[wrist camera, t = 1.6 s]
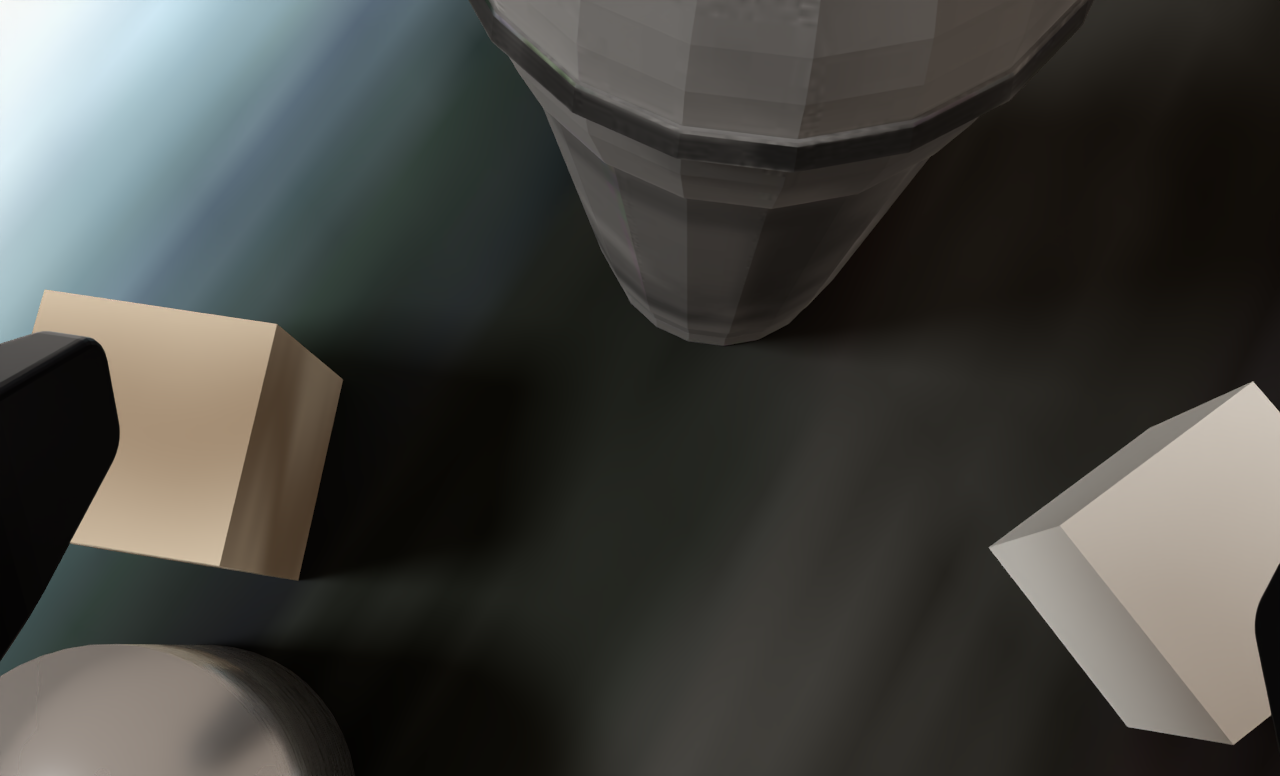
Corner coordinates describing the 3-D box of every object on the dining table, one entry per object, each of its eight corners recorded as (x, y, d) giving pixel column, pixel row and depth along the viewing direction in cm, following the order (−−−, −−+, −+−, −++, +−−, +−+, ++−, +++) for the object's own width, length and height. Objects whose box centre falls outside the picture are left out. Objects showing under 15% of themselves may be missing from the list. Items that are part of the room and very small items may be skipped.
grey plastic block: (1288, 599, 21) (1430, 588, 17) (1125, 726, 21) (1233, 744, 17) (1147, 429, 22) (1253, 381, 18) (987, 547, 21) (1059, 525, 18)
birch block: (299, 580, 22) (219, 565, 18) (98, 548, 22) (-24, 526, 18) (344, 380, 22) (276, 323, 19) (151, 351, 23) (44, 289, 19)
